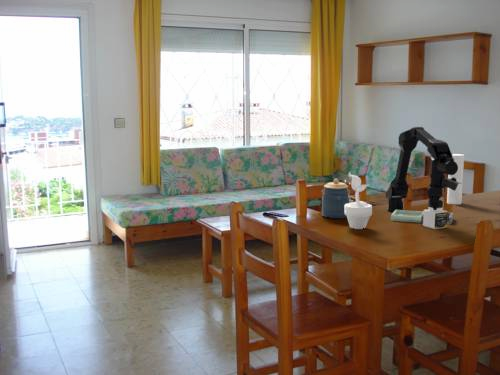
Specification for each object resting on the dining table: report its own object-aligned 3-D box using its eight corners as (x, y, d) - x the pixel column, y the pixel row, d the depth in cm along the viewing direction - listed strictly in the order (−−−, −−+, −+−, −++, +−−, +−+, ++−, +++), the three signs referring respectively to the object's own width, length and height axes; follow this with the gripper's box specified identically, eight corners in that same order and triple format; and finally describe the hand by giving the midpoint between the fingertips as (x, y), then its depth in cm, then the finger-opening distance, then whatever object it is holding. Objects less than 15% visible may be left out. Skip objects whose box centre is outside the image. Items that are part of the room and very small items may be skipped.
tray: (390, 220, 266) (391, 215, 266) (395, 214, 278) (395, 209, 277) (420, 222, 261) (421, 217, 261) (424, 216, 273) (424, 211, 273)
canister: (322, 219, 270) (322, 180, 267) (320, 213, 283) (321, 176, 280) (351, 219, 269) (352, 180, 267) (348, 213, 282) (348, 176, 279)
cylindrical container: (462, 202, 307) (464, 154, 303) (460, 204, 300) (463, 155, 296) (447, 201, 310) (450, 153, 306) (446, 203, 303) (448, 155, 299)
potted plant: (338, 226, 256) (339, 168, 252) (361, 223, 260) (362, 167, 256) (354, 232, 244) (356, 172, 240) (378, 229, 249) (380, 170, 245)
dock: (422, 222, 262) (422, 215, 262) (425, 217, 272) (425, 210, 272) (451, 224, 258) (451, 217, 257) (452, 219, 268) (453, 212, 267)
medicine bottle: (434, 229, 249) (436, 201, 247) (422, 226, 255) (423, 198, 253) (447, 227, 252) (448, 199, 250) (434, 224, 259) (436, 197, 257)
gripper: (456, 175, 238) (454, 214, 241) (459, 169, 255) (457, 205, 258) (427, 174, 242) (425, 212, 245) (432, 168, 259) (430, 203, 262)
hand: (435, 208), depth 252 cm, fingers open, 7 cm apart
